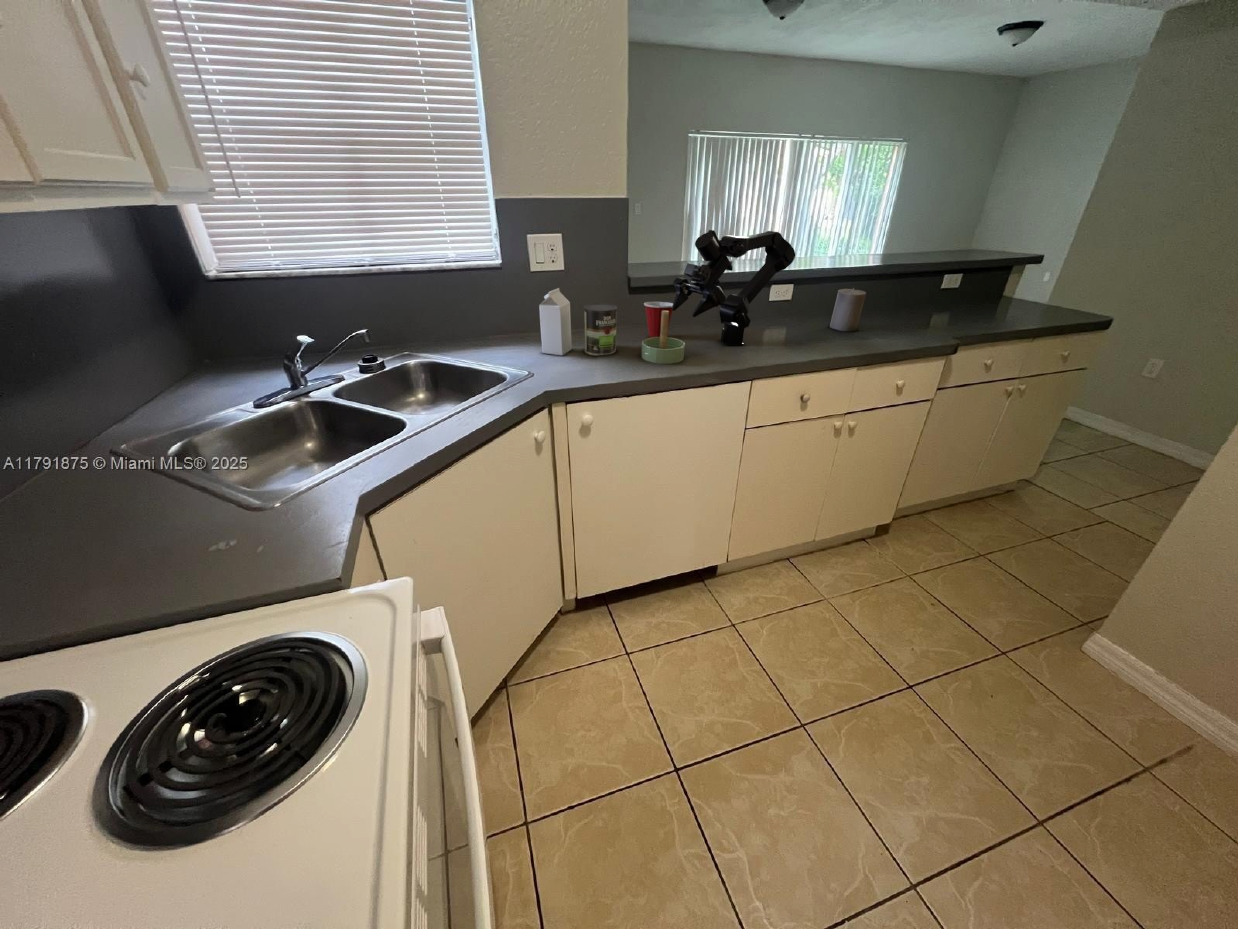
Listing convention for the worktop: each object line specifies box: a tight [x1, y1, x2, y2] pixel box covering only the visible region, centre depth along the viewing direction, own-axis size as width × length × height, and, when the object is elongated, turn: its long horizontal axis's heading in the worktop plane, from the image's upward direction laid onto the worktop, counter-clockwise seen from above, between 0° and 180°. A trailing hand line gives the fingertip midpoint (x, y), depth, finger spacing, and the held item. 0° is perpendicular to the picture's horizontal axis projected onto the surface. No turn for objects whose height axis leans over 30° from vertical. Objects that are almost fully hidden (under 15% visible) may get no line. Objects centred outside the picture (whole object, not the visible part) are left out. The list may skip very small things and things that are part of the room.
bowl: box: [640, 336, 686, 365], centre depth 151 cm, size 13×13×5 cm
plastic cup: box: [643, 301, 674, 338], centre depth 169 cm, size 11×11×12 cm
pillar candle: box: [829, 287, 867, 333], centre depth 183 cm, size 10×10×15 cm
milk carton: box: [538, 287, 572, 356], centre depth 151 cm, size 7×7×19 cm
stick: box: [659, 310, 669, 349], centre depth 148 cm, size 5×5×14 cm
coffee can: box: [583, 302, 618, 357], centre depth 154 cm, size 10×10×14 cm
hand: (682, 312), depth 149 cm, fingers open, 9 cm apart
